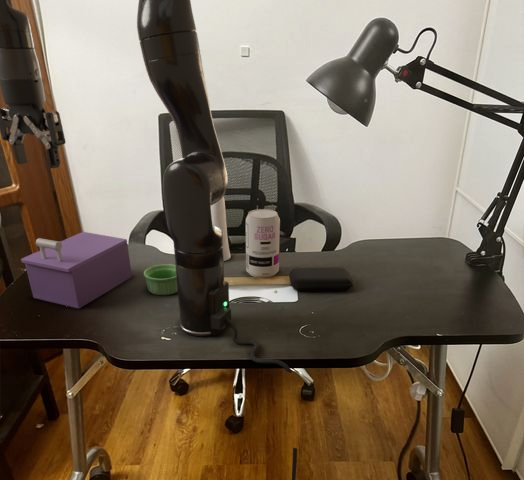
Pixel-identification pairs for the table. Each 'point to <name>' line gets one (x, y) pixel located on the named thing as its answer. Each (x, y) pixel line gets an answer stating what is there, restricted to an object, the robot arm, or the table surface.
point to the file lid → (72, 251)
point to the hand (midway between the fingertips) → (38, 165)
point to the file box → (81, 279)
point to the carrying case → (320, 279)
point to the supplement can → (262, 243)
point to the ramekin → (161, 279)
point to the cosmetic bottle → (221, 224)
